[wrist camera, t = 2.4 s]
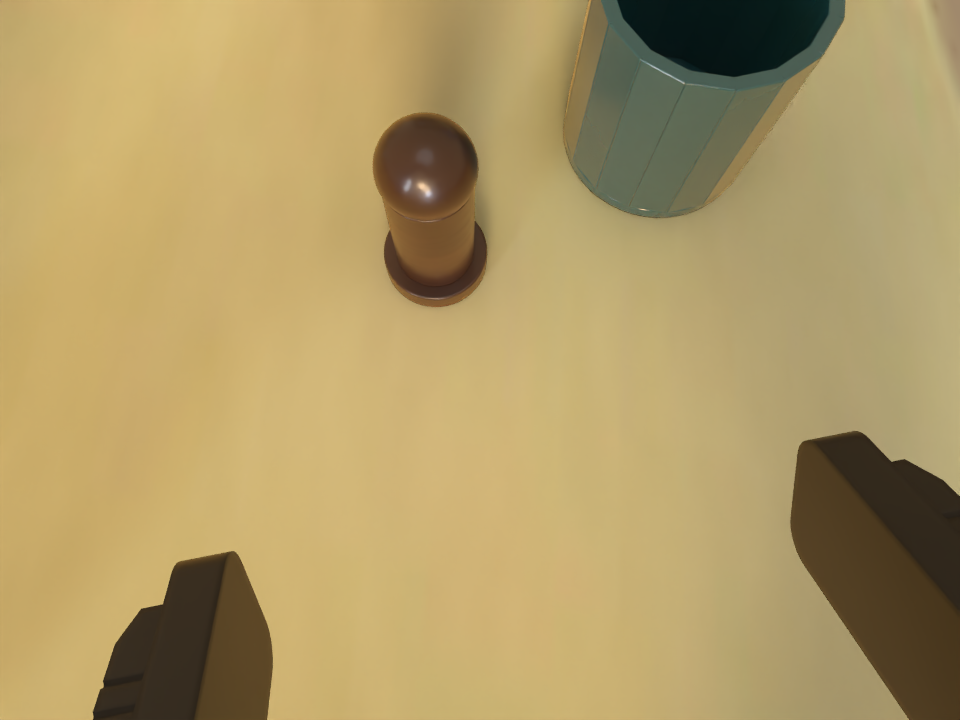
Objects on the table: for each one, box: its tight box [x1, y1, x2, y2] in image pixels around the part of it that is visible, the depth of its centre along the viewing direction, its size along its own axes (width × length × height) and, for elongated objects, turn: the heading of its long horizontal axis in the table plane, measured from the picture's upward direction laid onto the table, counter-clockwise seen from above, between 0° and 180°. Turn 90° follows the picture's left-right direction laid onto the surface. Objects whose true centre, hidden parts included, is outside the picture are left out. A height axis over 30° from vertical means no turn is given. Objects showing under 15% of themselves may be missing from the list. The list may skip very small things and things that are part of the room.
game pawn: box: [373, 113, 487, 307], centre depth 26 cm, size 4×4×9 cm
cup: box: [563, 0, 845, 217], centre depth 28 cm, size 8×8×9 cm
